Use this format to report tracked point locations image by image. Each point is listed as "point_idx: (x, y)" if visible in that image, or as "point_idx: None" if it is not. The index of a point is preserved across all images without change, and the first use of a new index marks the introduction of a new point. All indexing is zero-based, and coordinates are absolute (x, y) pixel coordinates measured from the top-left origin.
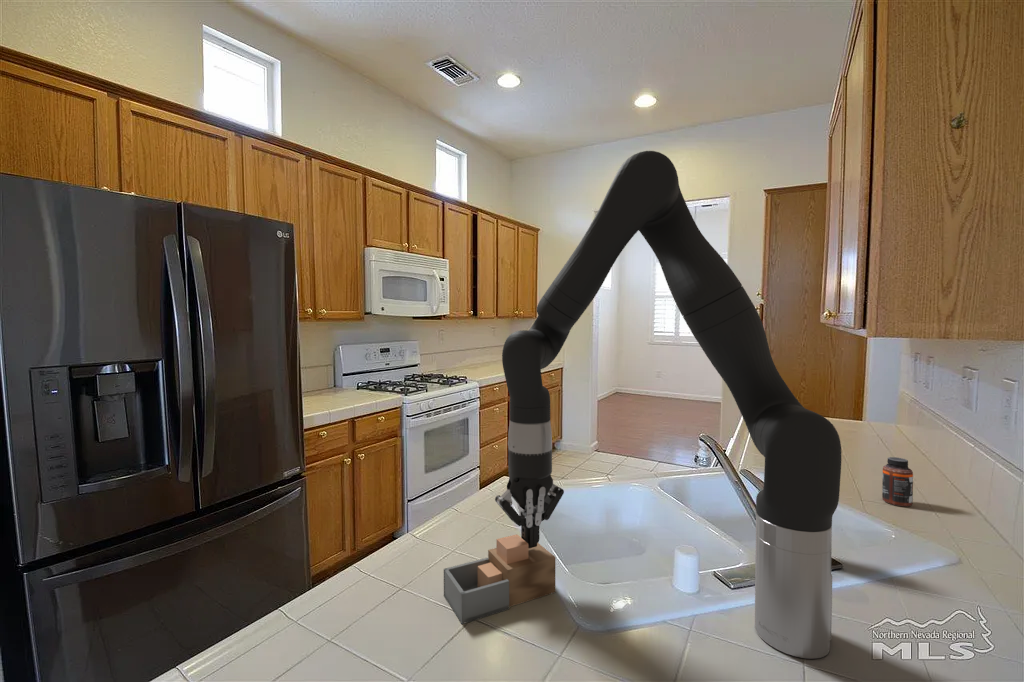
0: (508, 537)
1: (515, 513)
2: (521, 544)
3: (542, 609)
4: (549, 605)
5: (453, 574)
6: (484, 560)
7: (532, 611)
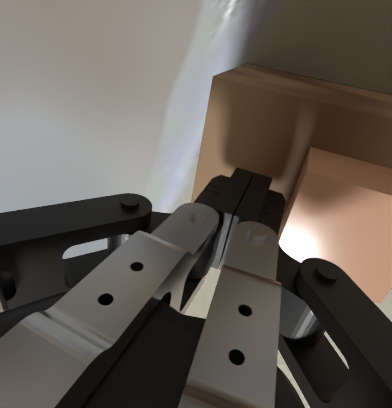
0: None
1: (376, 355)
2: (338, 191)
3: (352, 14)
4: (315, 17)
5: None
6: None
7: (387, 28)
